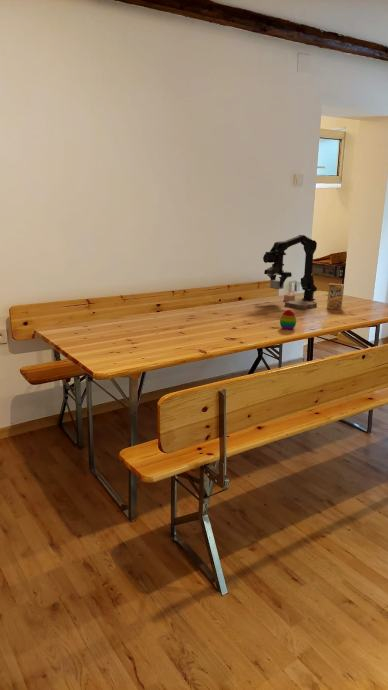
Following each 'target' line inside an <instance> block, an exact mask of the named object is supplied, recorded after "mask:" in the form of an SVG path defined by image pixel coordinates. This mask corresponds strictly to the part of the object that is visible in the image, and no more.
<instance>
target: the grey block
mask: <svg viewBox="0 0 388 690" xmlns="http://www.w3.org/2000/svg"><path fill="white" fill-rule="evenodd" d="M284 283H285V282H284ZM284 283H283V285H282V287H280V279H275V280H271V279H270V283H269V284H270V285H269V288H270V289H273V290H280V289H281V290H282V289H284V286H285V285H284Z"/></svg>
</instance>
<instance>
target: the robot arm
mask: <svg viewBox="0 0 388 690" xmlns="http://www.w3.org/2000/svg"><path fill="white" fill-rule="evenodd" d="M299 243H300V244H301V245H302V246H303V250H304V252H305V257H304V260H305V261H304V274H303V277H300V282H299V283H300V284H299V285H300V287H301V289H302V290H303V298H301V300H303V301H308V302H312V301H316V298H314V295H315V294H314V293H315V292H317V290H318V288H317V287H316V285H315V281H314V277H313V266H314V265H313V264H314V263H313V262H314V254H315V252H316V250H317V246H318V245H317V244H318V242H316V240H313V239H312V238H309V237H308V236H306V235H305V234H298V235H297V236H295V237H292V238H289V239H287V240H286V239H285V240H281V241H275V242H274V244H273V246H272V247H271V249H270V250H269V251H265V253H264V254H263V257H262V259H263V262H264V263H265V264H269V263H272V264H271V266H270V267H268V268H267V269H264V272H263V273H264V275H266V276H267V277H269V279H270V281H271V280H277V279H276V278H277V275H278V276H279V277H278V278H279V280H280V287H282V285H283V283H285V281H286V280H287V279H288V278H291V277H292V276H293V275H292V272H291V271H285V270H284V269H283V267H284V266H285V264H284V256H287V253H286V252H285V251H287V250H288V249H289V248H290V247H293V246H295V245H298V244H299Z"/></svg>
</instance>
